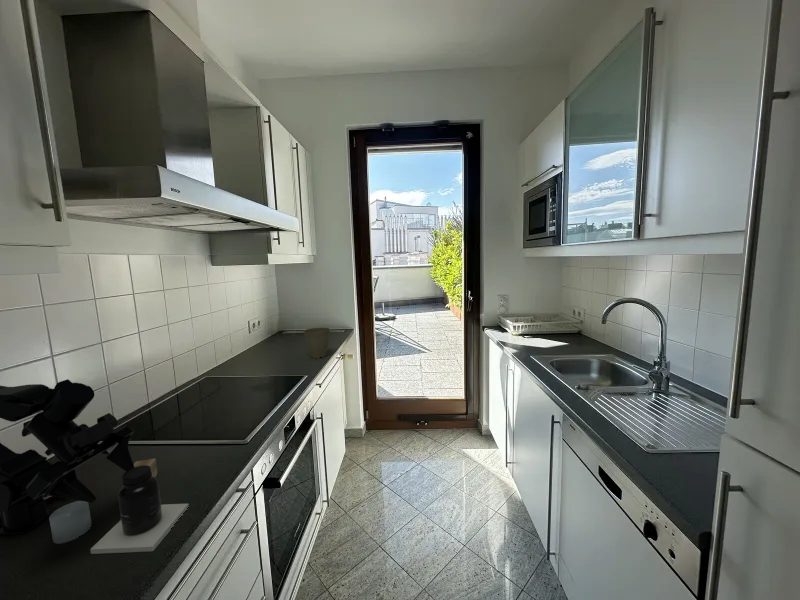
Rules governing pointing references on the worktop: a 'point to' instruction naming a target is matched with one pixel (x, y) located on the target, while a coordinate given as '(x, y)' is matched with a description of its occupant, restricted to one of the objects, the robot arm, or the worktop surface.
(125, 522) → the supplement bottle
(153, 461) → the oak block
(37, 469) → the robot arm
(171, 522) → the plate
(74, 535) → the blue-grey rounded cylinder
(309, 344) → the plant pot
